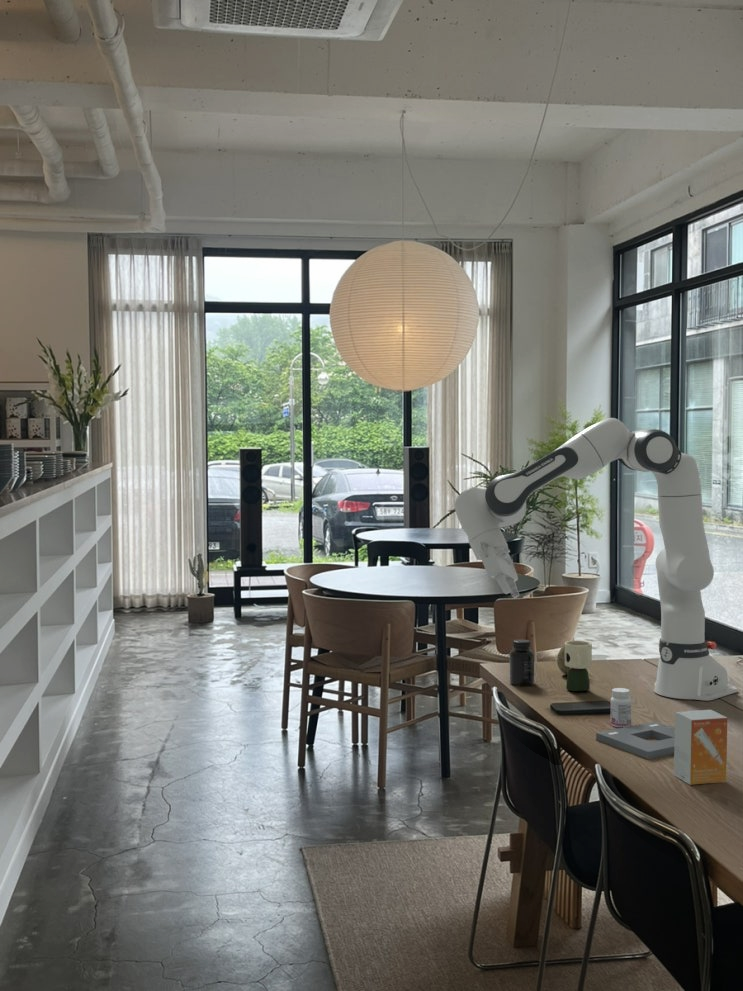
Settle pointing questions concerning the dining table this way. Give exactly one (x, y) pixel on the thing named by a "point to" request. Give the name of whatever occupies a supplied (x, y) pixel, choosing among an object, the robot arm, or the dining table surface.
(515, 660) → the supplement bottle
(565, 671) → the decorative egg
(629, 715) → the pill bottle
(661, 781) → the dining table surface
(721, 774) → the small box
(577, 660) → the character mug
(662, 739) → the socket plate
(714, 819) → the dining table surface
